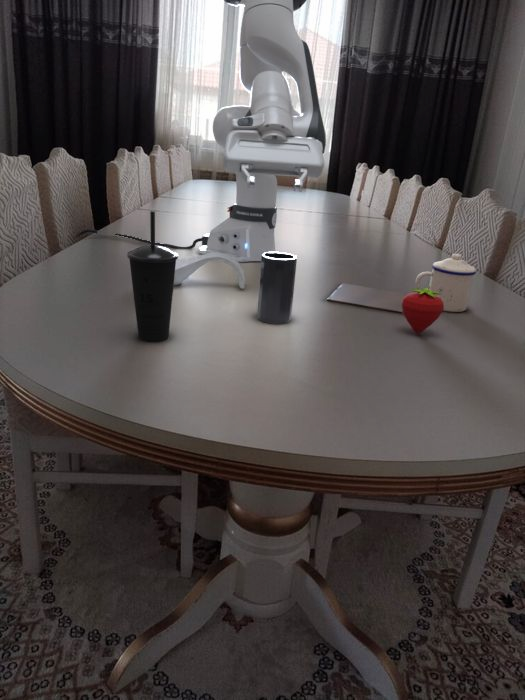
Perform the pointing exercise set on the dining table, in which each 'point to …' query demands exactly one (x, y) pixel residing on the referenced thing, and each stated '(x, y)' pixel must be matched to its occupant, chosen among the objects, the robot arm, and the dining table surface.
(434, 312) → the strawberry
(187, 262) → the white arch
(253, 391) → the dining table surface
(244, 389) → the dining table surface
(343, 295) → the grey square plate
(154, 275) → the drinking cup
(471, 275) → the teacup with lid
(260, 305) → the waste bin
